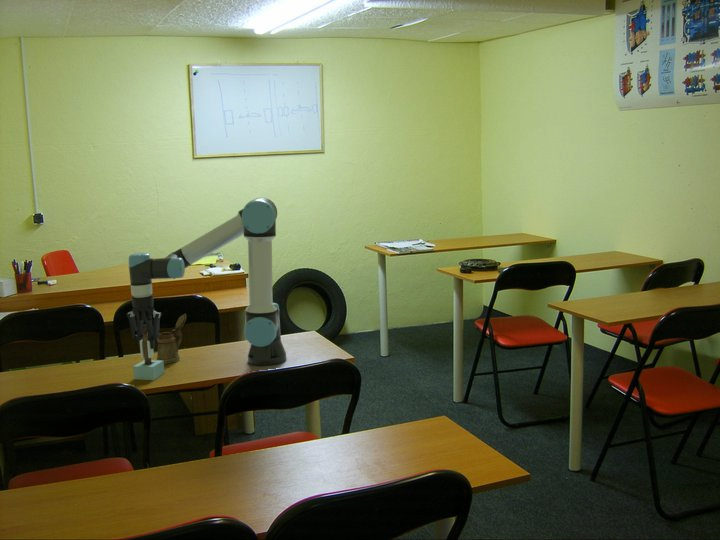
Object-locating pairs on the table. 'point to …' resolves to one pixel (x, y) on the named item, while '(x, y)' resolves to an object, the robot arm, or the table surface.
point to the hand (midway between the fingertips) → (147, 356)
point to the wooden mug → (170, 343)
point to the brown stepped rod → (145, 347)
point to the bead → (148, 370)
